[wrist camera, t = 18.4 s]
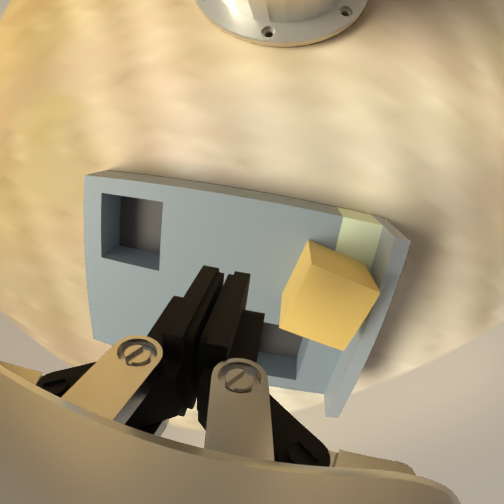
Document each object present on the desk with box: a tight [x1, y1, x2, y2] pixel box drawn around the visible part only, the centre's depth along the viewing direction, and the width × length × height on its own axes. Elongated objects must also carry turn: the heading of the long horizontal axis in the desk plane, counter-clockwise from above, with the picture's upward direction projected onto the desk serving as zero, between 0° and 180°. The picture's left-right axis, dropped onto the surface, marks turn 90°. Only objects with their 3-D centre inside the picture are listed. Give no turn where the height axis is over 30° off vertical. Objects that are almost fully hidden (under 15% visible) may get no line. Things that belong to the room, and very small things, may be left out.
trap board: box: [84, 170, 411, 417], centre depth 21 cm, size 14×21×6 cm, turn 81°
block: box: [279, 239, 380, 351], centre depth 17 cm, size 4×4×4 cm
